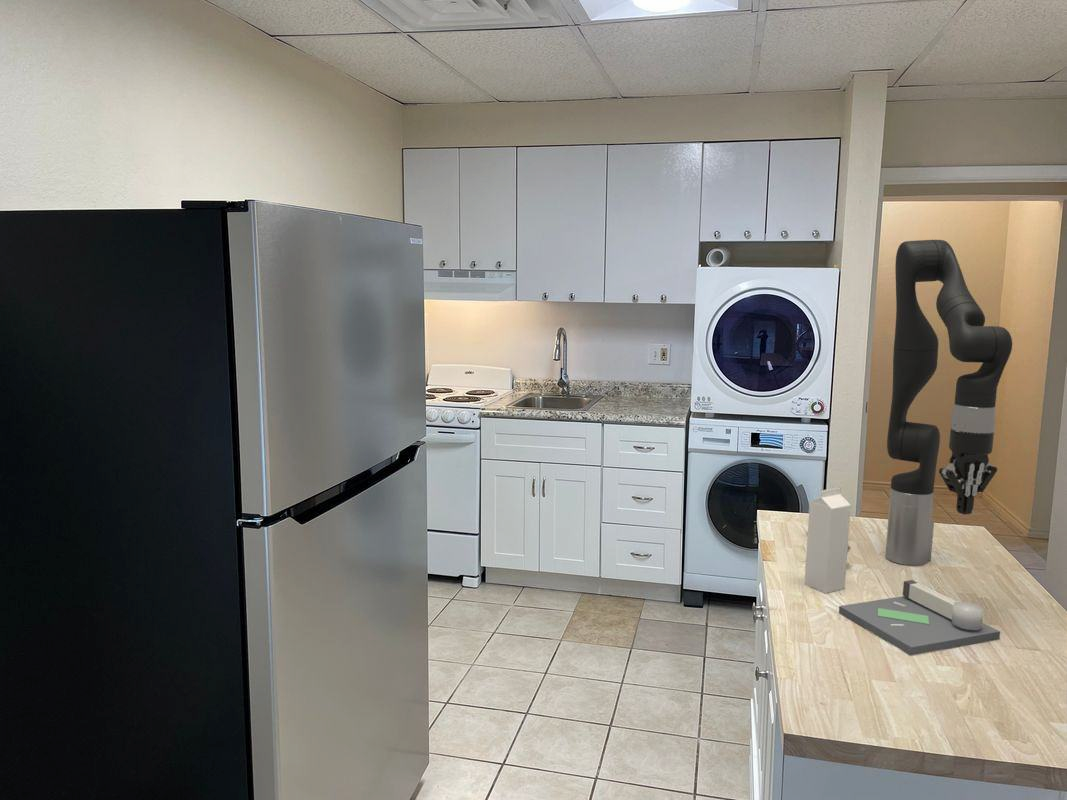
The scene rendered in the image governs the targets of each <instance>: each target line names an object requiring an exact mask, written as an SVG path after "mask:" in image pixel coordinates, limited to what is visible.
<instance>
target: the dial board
mask: <svg viewBox="0 0 1067 800" xmlns="http://www.w3.org/2000/svg"><path fill="white" fill-rule="evenodd" d="M838 614H839V615H841V616H843V617H845V619H849V620H850V621H852V622H853V623H855V624H856V625H859V626H861V627H862V628H864V629H865V630H867V631H869V632H870V633H872V634H874V635H875V636H877V637H879V638H881V639H882V640H885V642H887V643H889V644H891V645H893V646H894V647H896V648H898V649H899V650H901V651H903V652H904V653H906V654H908V655H910V656H914V655H919V654H926V653H930V652H935V651H941V650H948V649H952V648H958V647H962V646H967V645H968V646H969V645H973V644H980V643H984V642H985V643H986V642H989V641H990V642H991V641H996V640H1000V638H1001V630H998V629H996V628H994V627H992V626H990V625H988V624H986V623H984V622H982V628H981V629H979V630H967V629H963V628H959V627H957V626H955V625H954V624H953V623H952V620H951V619H949V618H947V617H945V616H943V615H941V614H939V613H937V612H935V611H933V610H931V609H929V608H927V607H925V606H923V605H921V604H919V603H917V602H915V601H913V600H911V599H909V598H907V597H905V596H903V595H902V596H896V597H888V598H882V599H877V600H876V599H875V600H871V601H870V600H869V601H864V602H863V601H862V602H856V603H851V604H844V605H839V607H838Z"/></svg>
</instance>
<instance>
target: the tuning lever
mask: <svg viewBox="0 0 1067 800" xmlns="http://www.w3.org/2000/svg"><path fill="white" fill-rule="evenodd" d="M902 586H903V587H902V596H905V597H907V598H909V599H911V600H913V601H915V602H917V603H919V604H921V605H923V606H925V607H927V608H929V609H931V610H933V611H935V612H937V613H939V614H941V615H943V616H945V617H947V618H949V619H951V620H952V623H953V624H954V625H955V626H957V627H959V628H963V629H967V630H979V629H981V628H982V623H983V617H984V608H983V607H982V606H981V605H979V604H976V603H973V602H968V601H957V600H954V599H952V598H950V597H948V596H945V595H944V594H942V593H940V592H937V591H935V590H933V589H931V588H929V587H926V586H925V585H923V584H921V583H918V582H917V581H915V580H913V579H910V580H904V581H903V585H902Z"/></svg>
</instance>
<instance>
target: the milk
mask: <svg viewBox="0 0 1067 800" xmlns="http://www.w3.org/2000/svg"><path fill="white" fill-rule="evenodd" d="M850 518H851V504H850V503H849V502H848V501H847V499H846V498H845V497H843V495H842V494H841V487H834V488H829V489H823V490H821V492H820V497H818V498H816V499H814V500H811V501H809V508H808V521H807V522H808V527H807V538H806V539H807V540H806V541H807V542H806V556H805V569H804V570H805V574H804V585H805V586H808V587H810V588H811V589H814V590H817V591H819V592H822V593H823V594H829V593H833V592H836V591H841V590H844V589H845V588H846V577H847V575H846V574H847V561H848V553H847V550H848V546H849V545H848V544H849V534H850V533H849V532H850V523H851V522H850V521H851V520H850Z"/></svg>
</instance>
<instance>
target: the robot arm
mask: <svg viewBox="0 0 1067 800" xmlns="http://www.w3.org/2000/svg"><path fill="white" fill-rule="evenodd" d="M894 267H895V269H894V270H895V298H896V299H895V300H896V301H895V303H896V305H895V306H896V309H895V312H896V313H895V326H894V327H895V329H894V341H893V342H894V343H893V352H892V353H893V356H892V358H893V359H892V361H893V362H892V366H893V367H892V393H891V394H892V396H891V403H890V405H891V406H890V412H889V420H888V429H887V437H886V438H887V439H886V449H887V455H888V456H889V457H890V458H891V459H893V460H899V461H904V462H911V463H919V466H918V468H917V469H915V470H912V471H908V472H902V473H898V474H897V473H896V474H895V475H893V476H892V477H891V480H890V481H891V482H890V493H889V504H888V505H889V507H888V519H887V527H886V528H887V530H886V544H885V553H884V555H885V558H886V559H887V560H889V561H891V562H894V563H896V564H899V565H907V566H922V565H926V564H927V563H928V562H931V560H932V550H933V539H934V530H935V529H934V528H935V524H934V522H933V521H932V515H933V514H932V513H933V502H934V491H935V482H936V480H935V479H936V471H937V463H938V462H937V461H938V456H939V450H940V443H941V433H940V429H939V428H938V426H936V425H935V424H929V423H920V422H912V421H907V415H908V411H909V410H910V407H911V404H913V401H914V400H915V399H916V397H917V395H918V394H919V393H921V391H922V390H923V389H924V387H925V386H926V385H927V384H928V383H929V381H930V380H931V379H932V378H933V376H934V374H935V372H936V371H937V367H938V360H939V359H938V358H939V357H938V355H939V339H938V335H937V334H936V331H935V330H934V328H933V326H932V325H931V323H930V322H929V320H928V318H926V315H925V314H924V312H923V311H922V309H921V307H920V305H919V302H918V297H917V291H916V285H917V283H925V282H926V283H928V282H931V283H933V282H936V281H939V282H940V283H942V286H941V289H940V291H939V292H938V294H937V296H936V302H935V304H936V305H935V306H936V310H937V314H938V316H939V317H940V319H941V321H942V322H943V324H944V326H945V327H946V329H947V330H946V331H947V336H948V342H949V352H950V354H951V356H952V357H953V358H954V359H956V360H958V361H959V362H963V363H982V364H981V365H980V367H979V369H978V370H976V371H974V372H971V373H967V374H966V373H965V374H962V375H960V376H958V378H957V380H956V383H955V394H954V405H953V409H952V414H951V421H950V433H949V441H948V442H949V443H948V447H949V450H950V451H951V456H950V458H949V463H948V465H947V466H946V467H945V468H944V467H941V468H939V469H938V473H939V474H940V477H941V478H942V480H943V482H944V483H945V486H946V487H947V489H948V490H949V492H952V493H955V494H957V495H956V496H957V498H956V511H957V513H959V514H962V515H971V514H972V513H973V509H974V503H975V496H976V495H977V494H978V493H983V492H984V490H985V489H986V488H987V486H989V484H990V482H991V480H992V479H993V478H994V477H995V475H996V473H997V472H998V467H996V466H993V465H991V464H990V463H989V462H990V459H989V456H988V455H991V454H992V452H993V447H994V436H995V428H996V427H995V426H996V405H997V404H996V403H997V393H998V391H997V390H998V386H999V383H1000V380H1001V378H1002V375H1003V372H1004V369H1005V368H1006V366H1007V362H1008V360H1009V359H1010V356H1011V353H1012V351H1013V350H1012V349H1013V339H1012V335H1011V333H1010V332H1009V330H1007V328H1005V327H1003V326H996V325H995V326H990V325H989V326H988V325H987V326H986V325H985V323H986V317H985V313H984V312H983V310H982V308H981V307H980V305H979V304H978V302H977V301H976V300H975V298H974V297H973V295H972V294H971V292H970V290H969V288H968V286H967V284H966V281H965V280H966V279H965V278H964V275H963V271H962V269H961V266H960V264H959V261H958V259H957V256H956V253H955V251H954V249H953V248H952V245H950V243H949V242H948V241H946V240H943V239H924V240H923V239H922V240H920V239H919V240H906V241H903V242H901V243H900V244H899V245H898V247H897V251H896V255H895V266H894Z"/></svg>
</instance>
